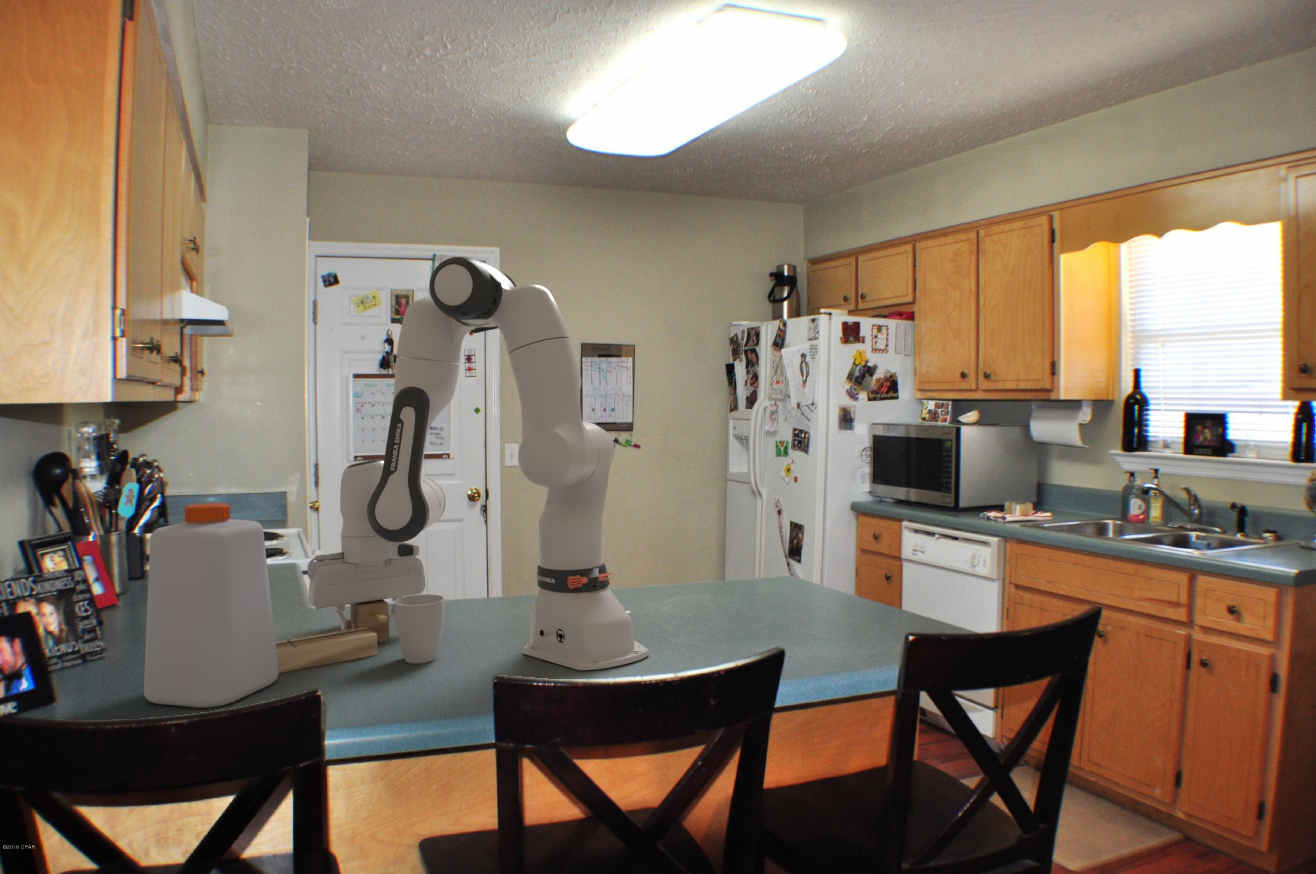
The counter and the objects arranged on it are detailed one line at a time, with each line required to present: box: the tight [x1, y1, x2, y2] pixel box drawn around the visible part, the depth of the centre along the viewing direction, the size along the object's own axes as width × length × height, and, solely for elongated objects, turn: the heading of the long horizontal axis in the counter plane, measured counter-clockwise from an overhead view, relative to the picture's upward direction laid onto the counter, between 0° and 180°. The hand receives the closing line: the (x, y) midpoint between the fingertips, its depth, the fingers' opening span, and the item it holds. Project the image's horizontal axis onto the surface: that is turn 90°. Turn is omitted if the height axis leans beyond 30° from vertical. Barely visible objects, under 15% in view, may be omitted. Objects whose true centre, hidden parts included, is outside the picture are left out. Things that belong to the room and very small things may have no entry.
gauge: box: [349, 599, 390, 643], centre depth 153 cm, size 11×5×7 cm, turn 36°
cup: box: [393, 593, 446, 664], centre depth 142 cm, size 8×8×10 cm
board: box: [275, 627, 379, 674], centre depth 143 cm, size 6×16×4 cm, turn 126°
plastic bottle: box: [143, 502, 280, 709], centre depth 127 cm, size 15×15×28 cm
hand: (369, 625), depth 155 cm, fingers open, 7 cm apart
